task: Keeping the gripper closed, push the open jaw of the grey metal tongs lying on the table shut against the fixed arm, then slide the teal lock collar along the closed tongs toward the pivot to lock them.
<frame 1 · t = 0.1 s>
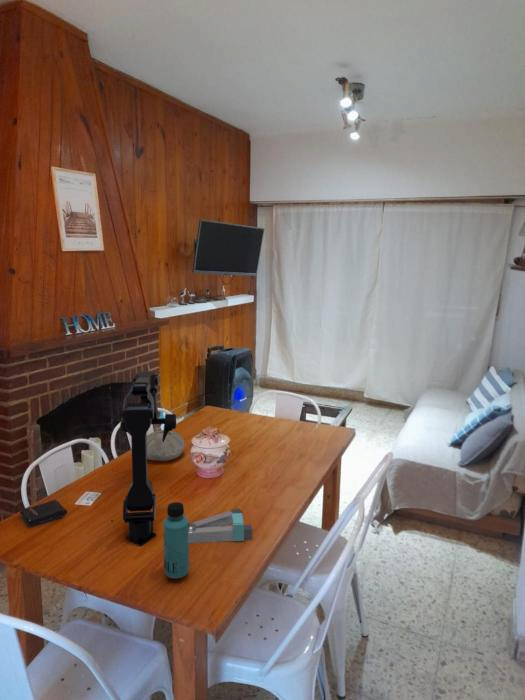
hand: (150, 441, 168), 15 cm above the table, tool pointing down, fingers open, 9 cm apart
beverage bottle: (176, 576, 122), on the table
grey rounded lump: (162, 457, 193), on the table
tongs body: (189, 538, 138), on the table
tongs jaw: (214, 522, 144), point 2 cm above the table, hinge at 25.0°
lock collar: (237, 526, 139), point 3 cm above the table, slide at 0.0 cm
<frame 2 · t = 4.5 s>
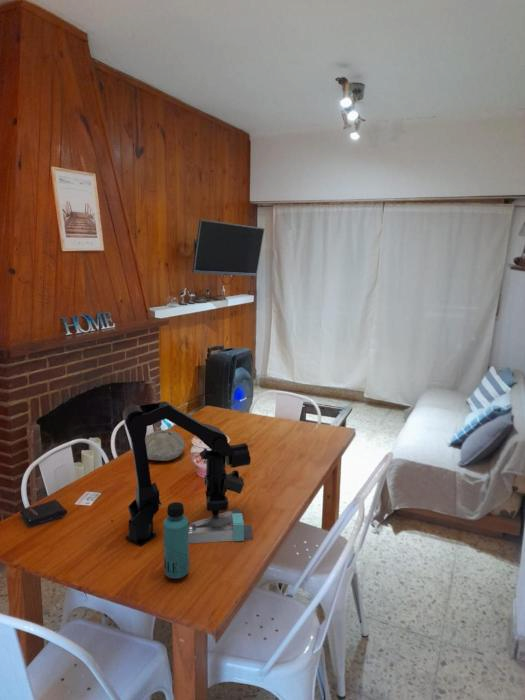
hand: (215, 516, 146), 2 cm above the table, tool pointing down, fingers closed
tongs jaw: (214, 522, 144), point 2 cm above the table, hinge at 25.0°, touching gripper
everything else where it was.
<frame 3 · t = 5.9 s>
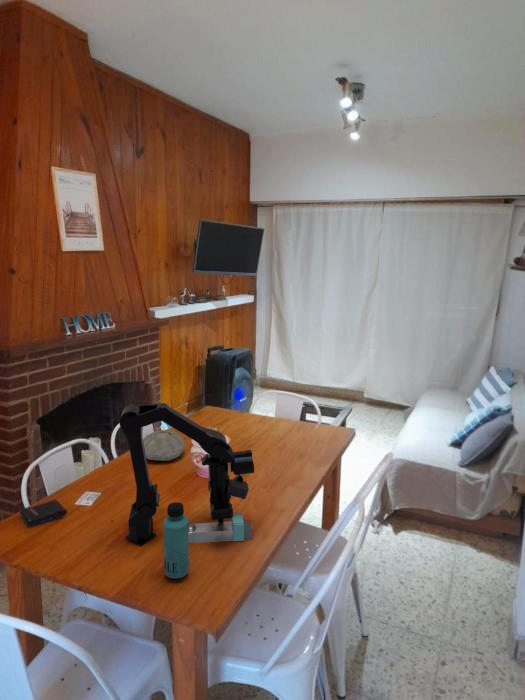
hand: (221, 523, 142), 2 cm above the table, tool pointing down, fingers closed
tongs jaw: (220, 529, 140), point 2 cm above the table, hinge at -0.3°, touching gripper
everything else where it was.
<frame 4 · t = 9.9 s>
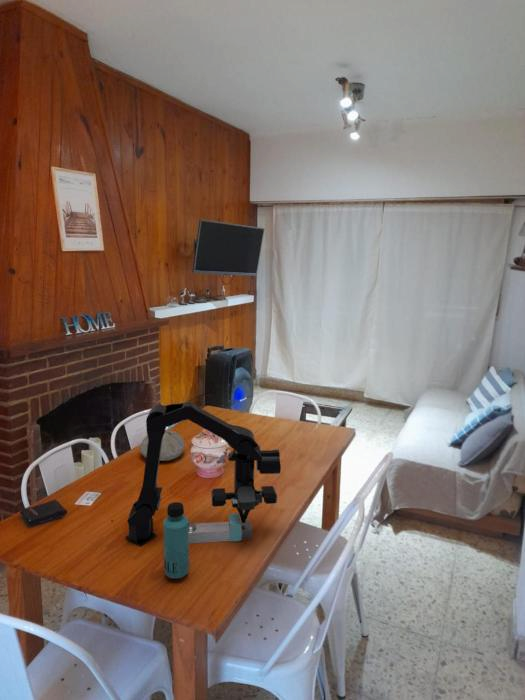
hand: (243, 522, 140), 4 cm above the table, tool pointing down, fingers closed
tongs jaw: (220, 529, 140), point 1 cm above the table, hinge at -0.4°
lock collar: (234, 527, 139), point 3 cm above the table, slide at 0.9 cm, touching gripper
everything else where it was.
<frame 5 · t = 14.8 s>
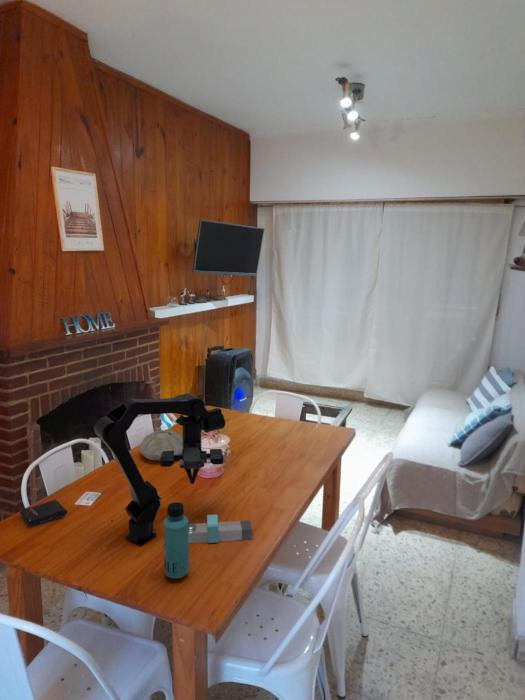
hand: (192, 483, 146), 12 cm above the table, tool pointing down, fingers closed
lock collar: (212, 528, 138), point 3 cm above the table, slide at 7.4 cm
everything else where it was.
at the end: tongs jaw at +0° (first picture: +25°); lock collar slide at 7.4 cm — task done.
